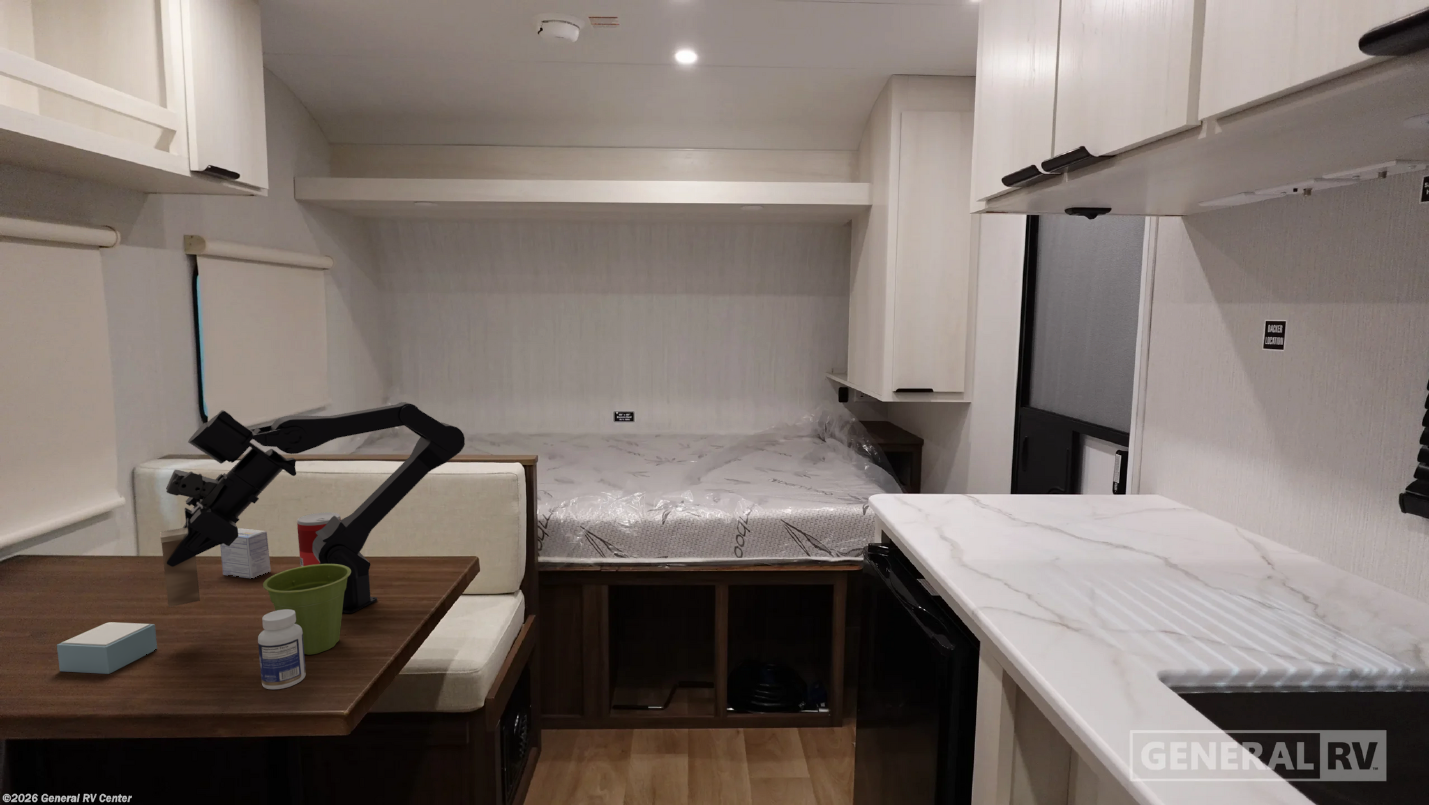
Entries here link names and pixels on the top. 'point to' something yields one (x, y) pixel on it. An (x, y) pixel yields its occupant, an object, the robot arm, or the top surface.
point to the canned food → (311, 534)
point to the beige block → (179, 571)
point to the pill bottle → (281, 650)
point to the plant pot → (312, 601)
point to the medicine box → (246, 554)
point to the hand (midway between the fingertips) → (168, 561)
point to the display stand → (106, 647)
